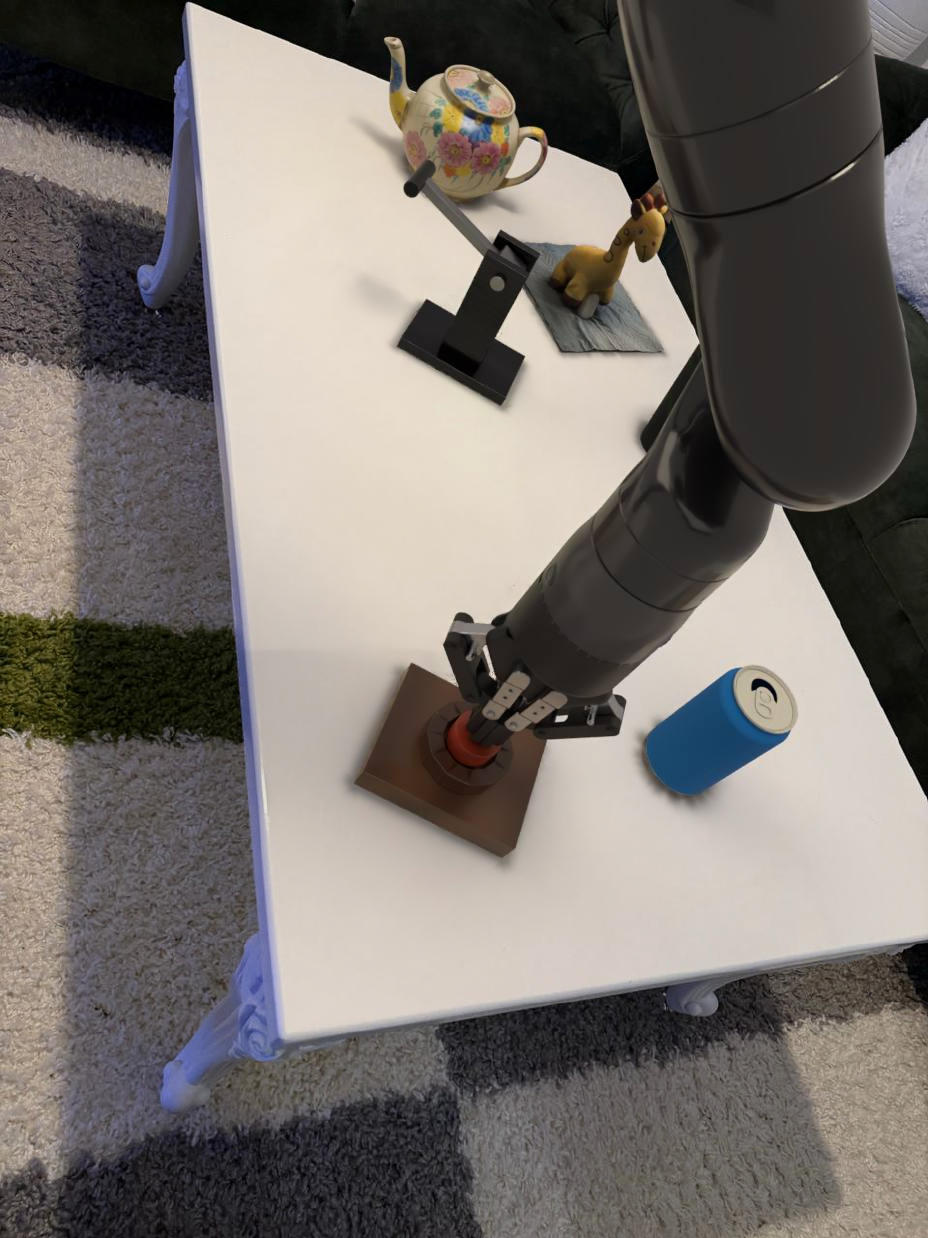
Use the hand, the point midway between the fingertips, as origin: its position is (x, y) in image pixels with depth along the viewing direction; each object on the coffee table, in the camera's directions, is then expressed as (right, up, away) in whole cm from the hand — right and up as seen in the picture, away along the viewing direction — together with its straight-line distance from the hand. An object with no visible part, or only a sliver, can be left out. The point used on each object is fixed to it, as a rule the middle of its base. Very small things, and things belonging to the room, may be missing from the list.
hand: (480, 733), depth 61 cm
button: (-1, -1, +1) cm, 2 cm away
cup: (+21, +27, +36) cm, 49 cm away
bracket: (-1, +35, +30) cm, 47 cm away
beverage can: (+16, -4, +13) cm, 21 cm away
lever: (-2, +44, +21) cm, 48 cm away
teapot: (-4, +62, +47) cm, 78 cm away
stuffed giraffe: (+13, +47, +45) cm, 66 cm away
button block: (-2, -3, +4) cm, 6 cm away
